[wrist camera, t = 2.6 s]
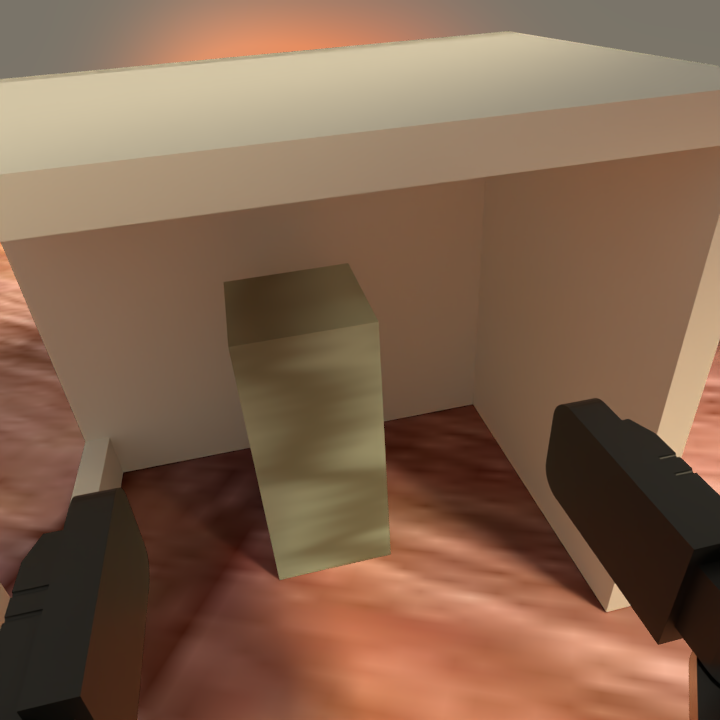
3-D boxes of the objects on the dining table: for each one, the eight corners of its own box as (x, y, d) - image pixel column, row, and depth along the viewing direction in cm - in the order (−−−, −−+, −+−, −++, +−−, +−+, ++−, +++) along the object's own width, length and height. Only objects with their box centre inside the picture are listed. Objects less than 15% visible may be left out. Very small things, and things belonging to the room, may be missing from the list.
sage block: (365, 477, 30) (348, 263, 24) (390, 554, 26) (378, 321, 20) (268, 497, 30) (223, 281, 23) (279, 579, 26) (228, 347, 19)
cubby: (483, 388, 36) (508, 31, 25) (633, 605, 24) (803, 79, 13) (103, 462, 33) (-53, 84, 22) (42, 759, 20) (-383, 219, 10)
